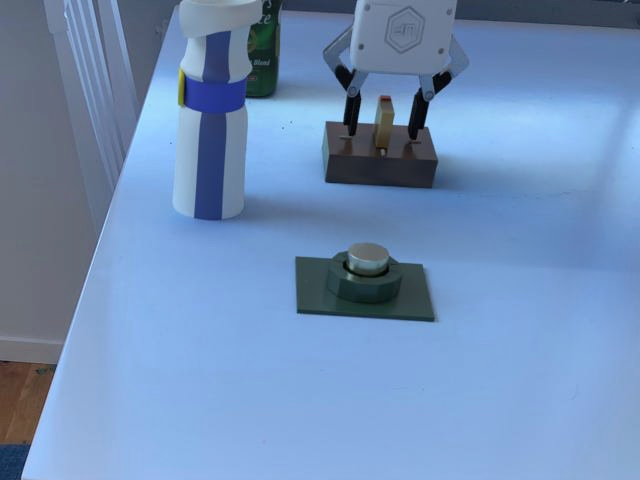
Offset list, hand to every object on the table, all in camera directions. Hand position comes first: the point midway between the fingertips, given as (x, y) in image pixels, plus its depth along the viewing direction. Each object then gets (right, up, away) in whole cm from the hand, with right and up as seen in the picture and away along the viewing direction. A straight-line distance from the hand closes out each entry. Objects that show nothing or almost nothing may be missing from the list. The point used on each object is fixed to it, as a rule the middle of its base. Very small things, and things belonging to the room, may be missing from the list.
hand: (381, 132), depth 106 cm
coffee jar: (-14, +16, +20) cm, 29 cm away
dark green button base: (-7, -27, -19) cm, 33 cm away
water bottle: (-20, -11, -5) cm, 23 cm away
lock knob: (0, 0, +1) cm, 1 cm away
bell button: (-7, -24, -22) cm, 33 cm away
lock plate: (0, -2, +3) cm, 4 cm away
